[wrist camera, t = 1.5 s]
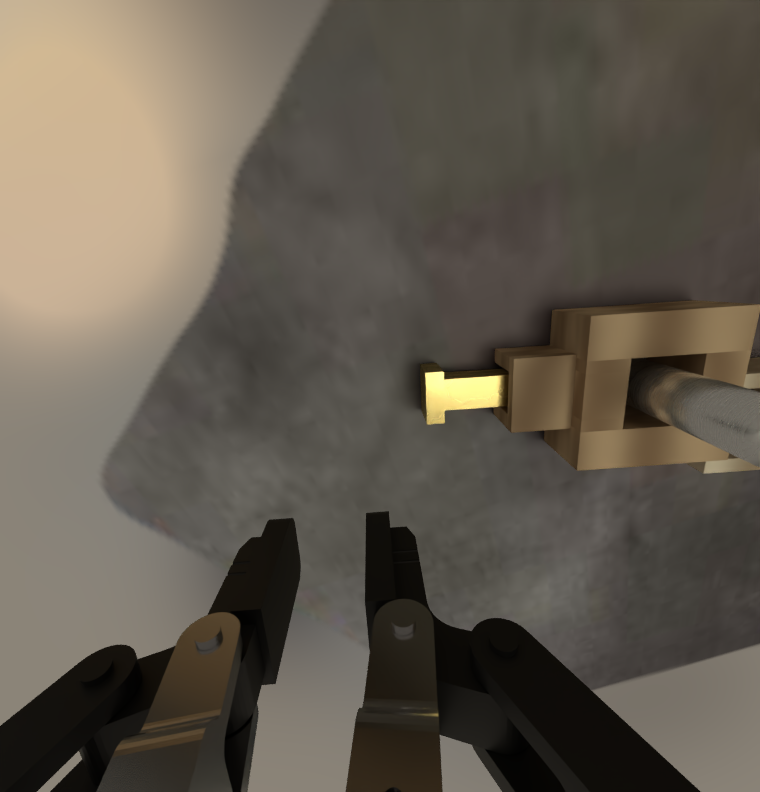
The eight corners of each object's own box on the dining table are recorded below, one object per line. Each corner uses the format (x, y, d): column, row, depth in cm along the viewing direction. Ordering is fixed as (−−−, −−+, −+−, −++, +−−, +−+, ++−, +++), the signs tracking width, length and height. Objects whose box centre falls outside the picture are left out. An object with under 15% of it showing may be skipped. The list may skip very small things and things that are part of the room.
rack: (768, 356, 29) (830, 368, 25) (749, 443, 31) (803, 466, 27) (675, 362, 29) (722, 375, 25) (661, 449, 31) (703, 473, 27)
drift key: (532, 356, 28) (550, 364, 25) (530, 403, 29) (546, 415, 26) (420, 364, 28) (425, 372, 25) (421, 410, 29) (427, 424, 26)
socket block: (692, 300, 27) (761, 304, 22) (670, 431, 30) (727, 459, 25) (495, 313, 27) (522, 320, 22) (492, 444, 30) (516, 474, 25)
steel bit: (638, 351, 28) (823, 398, 17) (632, 392, 29) (804, 465, 18) (595, 353, 28) (750, 404, 17) (591, 395, 29) (735, 470, 18)
